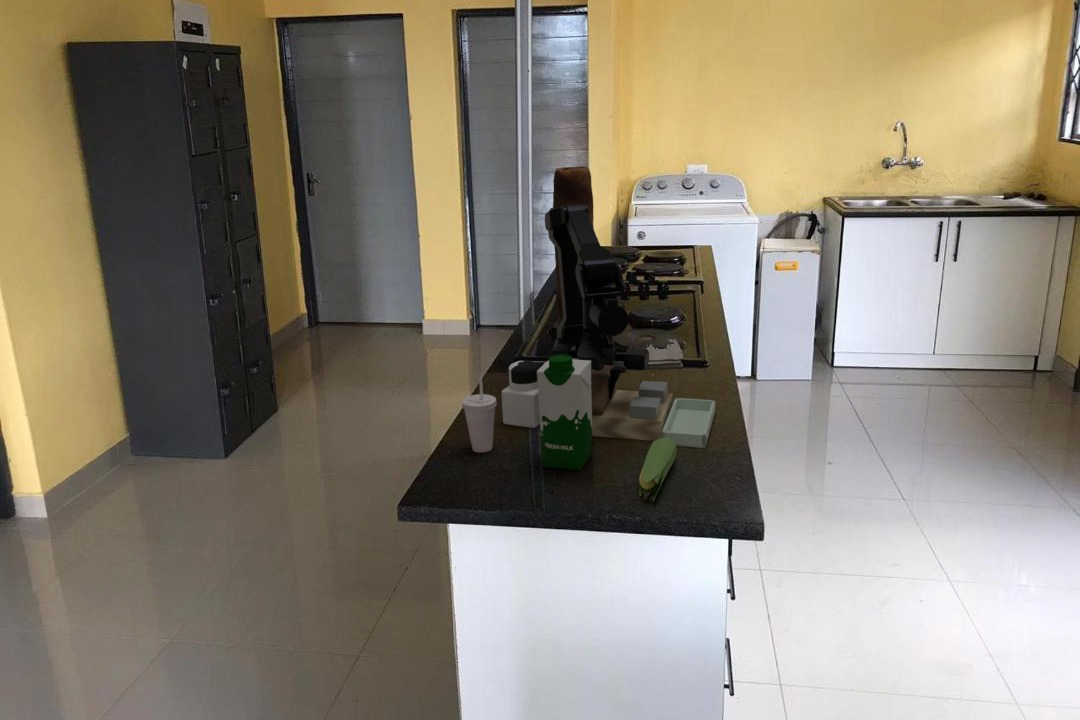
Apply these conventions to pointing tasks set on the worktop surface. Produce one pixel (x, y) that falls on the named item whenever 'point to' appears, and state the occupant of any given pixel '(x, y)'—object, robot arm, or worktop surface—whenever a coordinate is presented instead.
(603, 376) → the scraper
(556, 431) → the milk carton
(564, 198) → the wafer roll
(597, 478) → the worktop surface
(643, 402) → the tile
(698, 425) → the tray
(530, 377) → the medicine bottle
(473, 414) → the smoothie
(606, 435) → the board
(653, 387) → the tile
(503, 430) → the worktop surface
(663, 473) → the edible corn
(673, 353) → the washcloth
